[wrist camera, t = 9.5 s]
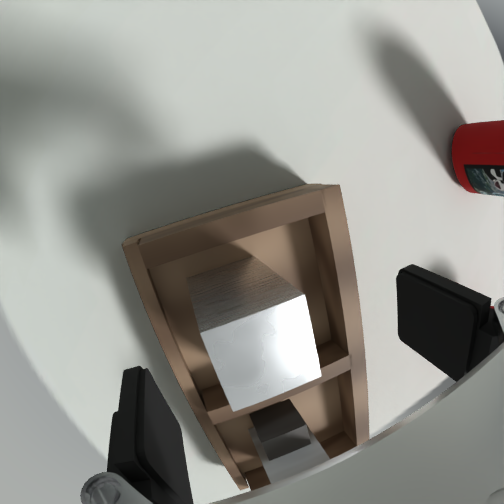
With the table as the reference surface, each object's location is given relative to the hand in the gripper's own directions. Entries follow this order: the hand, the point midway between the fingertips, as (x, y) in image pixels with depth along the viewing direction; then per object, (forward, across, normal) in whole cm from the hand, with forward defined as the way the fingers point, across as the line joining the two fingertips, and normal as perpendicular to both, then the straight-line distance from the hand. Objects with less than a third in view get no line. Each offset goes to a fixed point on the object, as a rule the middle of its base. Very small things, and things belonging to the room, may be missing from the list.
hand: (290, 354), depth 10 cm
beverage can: (+11, -24, -3) cm, 27 cm away
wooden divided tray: (+10, 0, +7) cm, 12 cm away
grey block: (+8, +1, +2) cm, 9 cm away
